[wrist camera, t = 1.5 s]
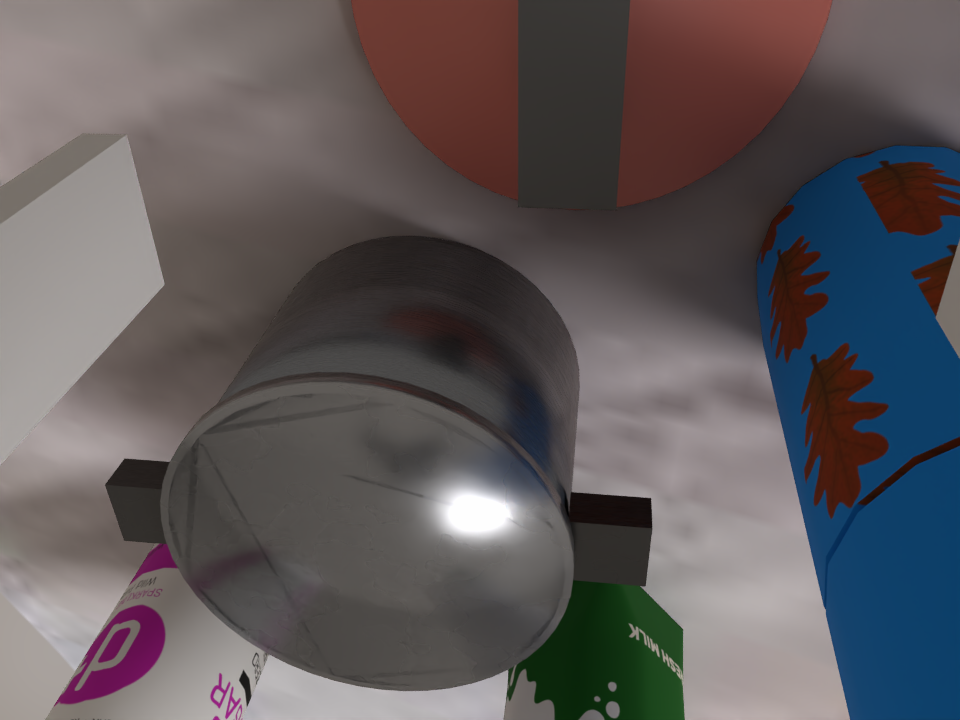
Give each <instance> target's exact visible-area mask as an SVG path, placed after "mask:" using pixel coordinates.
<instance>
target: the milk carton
mask: <svg viewBox="0 0 960 720" xmlns="http://www.w3.org/2000/svg"><path fill="white" fill-rule="evenodd" d="M504 720H685V717H684V701H683V629H682V628H681V627H680V626H679V625H678V624H677V623H676V622H675V621H674V620H673V619H672V618H671V617H670V616H669V615H668V614H667V613H666V612H665V611H664V610H663V609H662V608H661V607H660V606H659V605H658V604H657V603H656V602H655V601H654V600H653V599H652V598H651V597H650V596H649V595H648V594H647V593H646V592H645V591H644V590H643V589H642V588H641V587H640V586H634V585H623V584H612V583H600V582H589V581H578V580H573V583H572V590H571V596H570V599H569V602H568V605H567V608H566V611H565V613H564V615H563V617H562V619H561V620H560V622H559V624H558V626H557V627H556V629H555V631H554V632H553V633H552V634H551V635H550V637H549V638H548V639H547V640H546V641H545V642H544V644H543V645H542V646H540V647H539V648H538V649H537V650H536V651H535V652H534V653H532V654H531V655H530V656H529V657H528V658H526V659H524V660H523V661H521V662H520V663H518V664H517V665H515V666H514V667H512V668H510V669H509V670H508V689H507V697H506V705H505V713H504Z"/></svg>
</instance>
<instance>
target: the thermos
mask: <svg viewBox="0 0 960 720" xmlns="http://www.w3.org/2000/svg"><path fill="white" fill-rule="evenodd" d="M959 240H960V153H958V152H956V151H953V150H951V149H949V148H946V147H922V146H892V147H888V148H885V149H881V150H877V151H874V152H870V153H866V154H863V155H859V156H855V157H852V158H848V159H845V160H843V161H842V162H840V163H839V164H837V165H835V166H834V167H832V168H831V169H829V170H827V171H826V172H824V173H822V174H821V175H819V176H818V177H816V178H814V179H813V180H811V181H810V182H808V183H806V184H805V185H803V186H802V187H801V188H800V189H799V191H798V192H797V193H796V194H795V195H794V196H793V197H792V199H791V200H790V201H789V202H788V203H787V204H786V206H785V207H784V208H783V209H782V210H781V211H780V213H779V214H778V215H777V216H776V217H775V218H774V219H773V221H772V222H771V225H770V228H769V230H768V233H767V235H766V238H765V240H764V243H763V245H762V248H761V250H760V253H759V256H758V258H757V298H758V306H759V314H760V322H761V330H762V338H763V346H764V351H765V355H766V359H767V364H768V368H769V372H770V376H771V381H772V385H773V389H774V394H775V398H776V402H777V407H778V411H779V415H780V419H781V424H782V428H783V432H784V437H785V441H786V445H787V449H788V454H789V458H790V462H791V467H792V471H793V475H794V480H795V484H796V488H797V492H798V497H799V501H800V505H801V510H802V514H803V518H804V523H805V527H806V531H807V535H808V540H809V544H810V548H811V553H812V557H813V561H814V566H815V570H816V574H817V578H818V583H819V587H820V591H821V596H822V600H823V604H824V607H825V609H826V617H827V621H828V626H829V630H830V634H831V639H832V643H833V647H834V651H835V656H836V660H837V664H838V669H839V673H840V677H841V682H842V686H843V690H844V694H845V699H846V703H847V707H848V712H849V716H850V720H960V358H959V357H958V355H957V353H956V352H955V350H954V348H953V347H952V345H951V343H950V342H949V340H948V338H947V336H946V335H945V333H944V331H943V330H942V328H941V326H940V325H939V323H938V321H937V320H936V315H937V312H938V309H939V305H940V302H941V299H942V295H943V292H944V289H945V286H946V282H947V279H948V276H949V273H950V269H951V266H952V263H953V259H954V256H955V253H956V250H957V246H958V243H959Z"/></svg>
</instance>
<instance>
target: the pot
mask: <svg viewBox="0 0 960 720" xmlns="http://www.w3.org/2000/svg"><path fill="white" fill-rule="evenodd" d="M579 388H580V382H579V366H578V361H577V356H576V351H575V348H574V345H573V342H572V340H571V337H570V334H569V332H568V330H567V328H566V326H565V324H564V323H563V321H562V319H561V317H560V315H559V314H558V313H557V311H556V310H555V308H554V307H553V306H552V304H551V303H550V301H549V300H548V299H547V298H546V297H545V296H544V295H543V294H542V293H541V292H540V291H539V290H538V288H537V287H536V286H535V285H533V284H532V283H531V282H530V281H529V280H527V279H526V278H525V277H524V276H523V275H521V274H520V273H519V272H518V271H516V270H515V269H513V268H511V267H510V266H508V265H507V264H505V263H504V262H502V261H501V260H499V259H497V258H495V257H493V256H490V255H488V254H486V253H484V252H482V251H480V250H478V249H475V248H472V247H469V246H466V245H463V244H460V243H457V242H452V241H448V240H443V239H439V238H431V237H421V236H392V237H386V238H379V239H372V240H369V241H365V242H362V243H358V244H355V245H352V246H350V247H347V248H345V249H343V250H341V251H338V252H336V253H334V254H333V255H331V256H329V257H328V258H326V259H325V260H323V261H321V262H320V263H318V264H317V265H316V266H315V267H314V268H313V269H312V270H310V271H309V272H308V273H307V274H306V275H305V276H304V277H303V278H302V279H301V281H300V282H299V283H298V284H297V285H296V287H295V288H294V289H293V291H292V292H291V294H290V295H289V297H288V298H287V300H286V301H285V303H284V304H283V306H282V307H281V309H280V310H279V312H278V313H277V315H276V316H275V318H274V319H273V321H272V322H271V324H270V325H269V327H268V328H267V330H266V331H265V333H264V334H263V336H262V337H261V339H260V341H259V342H258V344H257V345H256V347H255V348H254V350H253V351H252V353H251V354H250V356H249V357H248V359H247V360H246V362H245V363H244V365H243V366H242V368H241V369H240V371H239V372H238V374H237V375H236V377H235V378H234V380H233V381H232V383H231V384H230V386H229V387H228V389H227V390H226V392H225V393H224V395H223V396H222V398H221V399H220V401H219V403H218V404H217V405H216V406H214V407H213V408H212V409H211V410H209V411H208V412H207V413H206V414H205V415H203V416H202V417H201V418H200V419H199V421H198V422H197V423H196V424H195V425H194V427H193V428H192V429H191V430H190V431H189V432H188V434H187V435H186V437H185V438H184V440H183V441H182V443H181V444H180V446H179V447H178V449H177V451H176V452H175V454H174V456H173V458H172V460H171V461H170V462H163V461H149V460H136V459H124V460H123V462H122V463H121V464H120V466H119V467H118V468H117V470H116V471H115V472H114V474H113V475H112V476H111V478H110V479H109V480H108V482H107V483H106V484H105V486H106V489H107V492H108V495H109V498H110V500H111V503H112V506H113V509H114V512H115V515H116V518H117V521H118V524H119V527H120V529H121V532H122V535H123V538H124V540H125V541H136V542H147V543H159V544H167V545H168V548H169V551H170V553H171V556H172V558H173V560H174V562H175V564H176V566H177V568H178V569H179V571H180V573H181V575H182V577H183V578H184V580H185V581H186V582H187V584H188V585H189V586H190V588H191V589H192V591H193V592H194V593H195V595H196V596H197V597H198V598H199V599H200V600H201V601H202V602H203V604H204V605H205V606H206V607H207V608H208V609H209V610H210V611H211V612H212V613H213V614H214V615H215V616H216V617H217V618H219V619H220V620H221V621H222V622H223V623H224V624H225V625H226V626H228V627H229V628H230V629H231V630H233V631H234V632H236V633H237V634H238V635H240V636H241V637H242V638H244V639H245V640H246V641H248V642H250V643H251V644H253V645H254V646H256V647H258V648H259V649H261V650H263V651H264V652H266V653H268V654H270V655H272V656H274V657H276V658H278V659H280V660H281V661H283V662H285V663H287V664H290V665H292V666H295V667H297V668H300V669H302V670H304V671H307V672H309V673H312V674H315V675H318V676H322V677H325V678H328V679H331V680H334V681H338V682H343V683H347V684H351V685H356V686H361V687H368V688H375V689H382V690H397V691H428V690H437V689H446V688H453V687H458V686H462V685H467V684H472V683H475V682H478V681H481V680H484V679H487V678H490V677H493V676H495V675H497V674H499V673H501V672H504V671H506V670H508V669H510V668H512V667H514V666H515V665H517V664H518V663H520V662H521V661H523V660H524V659H526V658H528V657H529V656H530V655H531V654H532V653H534V652H535V651H536V650H537V649H538V648H539V647H540V646H542V645H543V644H544V642H545V641H546V640H547V639H548V638H549V637H550V635H551V634H552V633H553V632H554V631H555V629H556V627H557V626H558V624H559V622H560V620H561V619H562V617H563V615H564V613H565V611H566V608H567V605H568V602H569V599H570V596H571V590H572V583H573V580H578V581H589V582H600V583H612V584H623V585H634V586H646V578H647V569H648V560H649V552H650V543H651V535H652V509H651V498H641V497H627V496H614V495H601V494H587V493H574V492H572V480H573V467H574V453H575V440H576V427H577V414H578V401H579Z"/></svg>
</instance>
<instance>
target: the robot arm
mask: <svg viewBox="0 0 960 720" xmlns="http://www.w3.org/2000/svg"><path fill="white" fill-rule="evenodd" d="M164 285H165V283H164V279H163V275H162V271H161V267H160V263H159V259H158V255H157V252H156V248H155V244H154V240H153V236H152V232H151V228H150V224H149V220H148V216H147V212H146V208H145V204H144V200H143V196H142V192H141V189H140V185H139V181H138V177H137V173H136V169H135V165H134V161H133V157H132V153H131V149H130V145H129V141H128V137H127V135H121V134H82V135H80V136H78V137H77V138H75V139H74V140H72V141H71V142H69V143H68V144H66V145H65V146H63V147H61V148H60V149H58V150H57V151H55V152H54V153H52V154H51V155H49V156H48V157H46V158H45V159H43V160H41V161H40V162H38V163H37V164H35V165H34V166H32V167H31V168H29V169H28V170H26V171H25V172H23V173H21V174H20V175H18V176H17V177H15V178H14V179H12V180H11V181H9V182H8V183H6V184H4V185H3V186H1V187H0V465H1V464H2V463H3V462H4V461H5V460H6V459H7V457H8V456H9V455H10V454H11V453H12V452H13V451H14V450H15V449H16V448H17V446H18V445H19V444H20V443H21V442H22V441H23V440H24V439H25V438H26V437H27V435H28V434H29V433H30V432H31V431H32V430H33V429H34V428H35V427H36V426H37V424H38V423H39V422H40V421H41V420H42V419H43V418H44V417H45V416H46V415H47V414H48V412H49V411H50V410H51V409H52V408H53V407H54V406H55V405H56V404H57V403H58V401H59V400H60V399H61V398H62V397H63V396H64V395H65V394H66V393H67V392H68V390H69V389H70V388H71V387H72V386H73V385H74V384H75V383H76V382H77V381H78V379H79V378H80V377H81V376H82V375H83V374H84V373H85V372H86V371H87V370H88V368H89V367H90V366H91V365H92V364H93V363H94V362H95V361H96V360H97V359H98V357H99V356H100V355H101V354H102V353H103V352H104V351H105V350H106V349H107V348H108V346H109V345H110V344H111V343H112V342H113V341H114V340H115V339H116V338H117V337H118V336H119V334H120V333H121V332H122V331H123V330H124V329H125V328H126V327H127V326H128V325H129V323H130V322H131V321H132V320H133V319H134V318H135V317H136V316H137V315H138V314H139V312H140V311H141V310H142V309H143V308H144V307H145V306H146V305H147V304H148V303H149V301H150V300H151V299H152V298H153V297H154V296H155V295H156V294H157V293H158V292H159V290H160V289H161V288H162V287H163V286H164ZM936 320H937V321H938V323H939V325H940V326H941V328H942V330H943V331H944V333H945V335H946V336H947V338H948V340H949V342H950V343H951V345H952V347H953V348H954V350H955V352H956V353H957V355H958V357H959V358H960V240H959V243H958V246H957V250H956V253H955V256H954V259H953V263H952V266H951V269H950V273H949V276H948V279H947V282H946V286H945V289H944V292H943V295H942V299H941V302H940V305H939V309H938V312H937V315H936Z"/></svg>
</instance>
